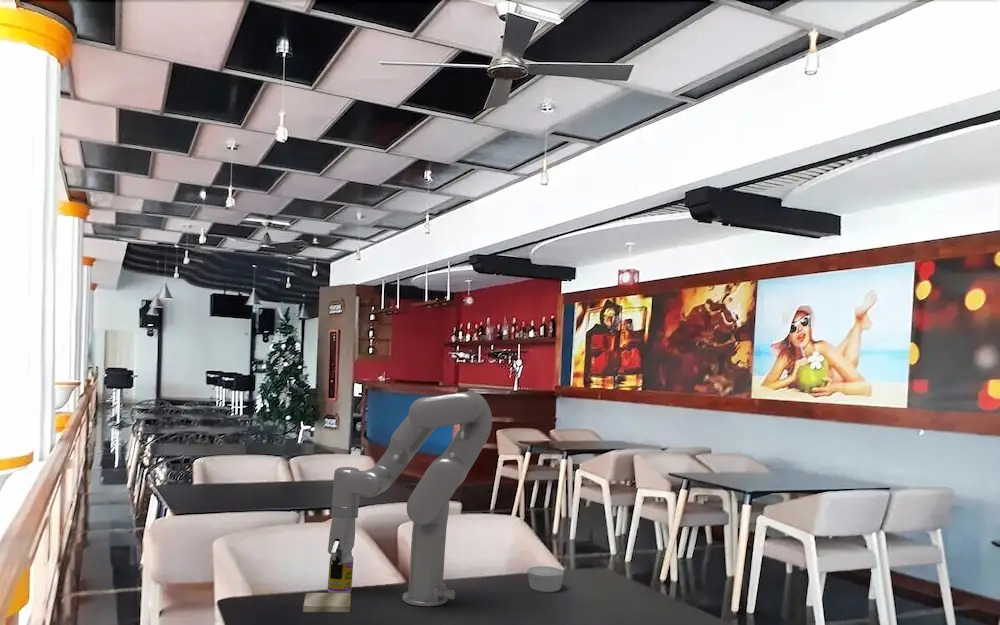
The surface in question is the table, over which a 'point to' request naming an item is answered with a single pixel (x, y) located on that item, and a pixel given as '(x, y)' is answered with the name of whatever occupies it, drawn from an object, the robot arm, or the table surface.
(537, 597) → the table surface
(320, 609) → the birch board
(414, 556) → the robot arm
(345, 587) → the supplement bottle
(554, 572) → the ramekin
